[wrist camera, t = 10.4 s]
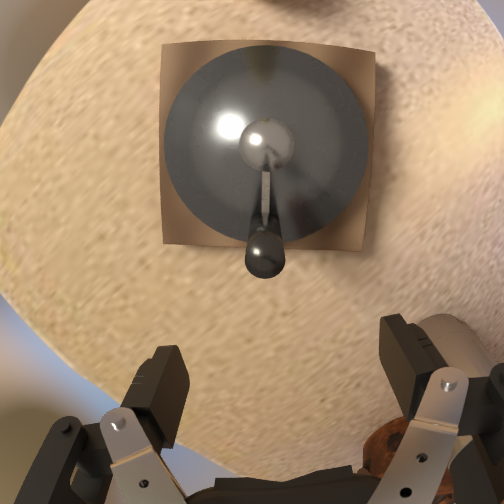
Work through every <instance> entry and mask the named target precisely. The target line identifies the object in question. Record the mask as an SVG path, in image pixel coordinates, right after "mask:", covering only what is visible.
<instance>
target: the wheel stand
mask: <svg viewBox="0 0 504 504" xmlns="http://www.w3.org/2000/svg"><path fill="white" fill-rule="evenodd" d="M258 45H273V46H282V47H287V48H292V49H296V50H298V51H301V52H304V53H307V54H309V55H311V56H313V57H315V58H317V59H318V60H320V61H322V62H323V63H325V64H326V65H327V66H329V67H330V68H332V69H333V70H334V71H335V72H336V73H337V74H338V75H339V76H340V77H341V78H342V79H343V80H344V81H345V82H346V84H347V85H348V86H349V87H350V89H351V90H352V92H353V94H354V95H355V97H356V98H357V100H358V102H359V105H360V107H361V109H362V111H363V115H364V118H365V121H366V125H367V132H368V150H369V151H368V159H367V165H366V169H365V173H364V176H363V179H362V181H361V184H360V186H359V188H358V190H357V192H356V194H355V195H354V197H353V199H352V200H351V202H350V203H349V204H348V206H347V207H346V208H345V209H344V210H343V211H342V212H341V213H340V214H339V215H338V216H337V218H335V219H334V220H333V221H332V222H330V223H329V224H328V225H326V226H325V227H323V228H322V229H320V230H318V231H317V232H315V233H313V234H311V235H308V236H306V237H304V238H301V239H297V240H294V241H291V242H285V243H283V247H284V248H288V249H314V250H339V251H362V244H363V237H364V230H365V222H366V214H367V205H368V196H369V187H370V176H371V164H372V151H373V136H374V115H375V52H371V51H365V50H359V49H353V48H347V47H340V46H332V45H324V44H315V43H304V42H291V41H273V40H214V41H196V42H183V43H172V44H163V45H162V52H161V72H160V104H159V162H160V195H161V216H162V233H163V244H177V245H206V246H234V247H247V242H244V241H239V240H236V239H233V238H230V237H227V236H225V235H223V234H221V233H219V232H217V231H215V230H213V229H212V228H210V227H209V226H207V225H206V224H204V223H203V222H202V221H201V220H199V219H198V218H197V217H196V216H195V215H194V214H193V213H192V212H191V211H190V210H189V209H188V208H187V207H186V205H185V204H184V203H183V201H182V200H181V198H180V197H179V196H178V194H177V192H176V190H175V188H174V186H173V184H172V182H171V179H170V176H169V174H168V171H167V166H166V162H165V155H164V132H165V126H166V121H167V118H168V115H169V111H170V108H171V106H172V104H173V102H174V100H175V98H176V96H177V94H178V93H179V91H180V90H181V88H182V87H183V85H184V84H185V83H186V82H187V81H188V79H189V78H190V77H191V76H192V75H193V74H194V73H195V72H196V71H198V70H199V69H200V68H201V67H202V66H203V65H205V64H206V63H208V62H210V61H211V60H213V59H214V58H216V57H218V56H220V55H222V54H225V53H227V52H230V51H233V50H236V49H239V48H244V47H249V46H258Z"/></svg>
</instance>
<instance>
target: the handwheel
mask: <svg viewBox="0 0 504 504" xmlns="http://www.w3.org/2000/svg"><path fill="white" fill-rule="evenodd" d="M368 151H369V150H368V132H367V125H366V121H365V118H364V115H363V111H362V109H361V107H360V105H359V102H358V100H357V98H356V97H355V95H354V94H353V92H352V90H351V89H350V87H349V86H348V85H347V84H346V82H345V81H344V80H343V79H342V78H341V77H340V76H339V75H338V74H337V73H336V72H335V71H334V70H333V69H332V68H330V67H329V66H327V65H326V64H325V63H323V62H322V61H320V60H318V59H317V58H315V57H313V56H311V55H309V54H307V53H304V52H301V51H298V50H296V49H292V48H287V47H282V46H273V45H258V46H249V47H244V48H239V49H236V50H233V51H230V52H227V53H225V54H222V55H220V56H218V57H216V58H214V59H213V60H211V61H210V62H208V63H206V64H205V65H203V66H202V67H201V68H200V69H199V70H198V71H196V72H195V73H194V74H193V75H192V76H191V77H190V78H189V79H188V81H187V82H186V83H185V84H184V85H183V87H182V88H181V90H180V91H179V93H178V94H177V96H176V98H175V100H174V102H173V104H172V106H171V108H170V111H169V115H168V118H167V121H166V126H165V132H164V155H165V162H166V166H167V171H168V174H169V176H170V179H171V182H172V184H173V186H174V188H175V190H176V192H177V194H178V196H179V197H180V198H181V200H182V201H183V203H184V204H185V205H186V207H187V208H188V209H189V210H190V211H191V212H192V213H193V214H194V215H195V216H196V217H197V218H198V219H199V220H201V221H202V222H203V223H204V224H206V225H207V226H209V227H210V228H212V229H213V230H215V231H217V232H219V233H221V234H223V235H225V236H227V237H230V238H233V239H236V240H239V241H244V242H247V248H246V254H245V265H246V267H247V269H248V271H249V272H250V273H251V274H252V275H254V276H256V277H258V278H263V279H268V278H272V277H275V276H276V275H278V274H279V273H280V272H281V271H282V270H283V268H284V265H285V253H284V247H283V243H285V242H291V241H294V240H297V239H301V238H304V237H306V236H308V235H311V234H313V233H315V232H317V231H318V230H320V229H322V228H323V227H325V226H326V225H328V224H329V223H330V222H332V221H333V220H334V219H335V218H337V216H338V215H339V214H340V213H341V212H342V211H343V210H344V209H345V208H346V207H347V206H348V204H349V203H350V202H351V200H352V199H353V197H354V195H355V194H356V192H357V190H358V188H359V186H360V184H361V181H362V179H363V176H364V173H365V169H366V165H367V159H368Z"/></svg>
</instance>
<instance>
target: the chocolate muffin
mask: <svg viewBox="0 0 504 504" xmlns="http://www.w3.org/2000/svg"><path fill="white" fill-rule="evenodd" d="M410 422H411V421H409V422H406V420H405V417H401V418H398V419H395V420H393V421H391V422H389V423H387V424H386V425H384V426H383V427H381V428H380V429H378V430H377V431H376V432H374V433H373V434H372V435H371V436H370V437H369V439H368V440H367V441H366V443H365V445H364V448H363V468H361V469H359V471H357V473H359V474H368V475H372V476H376V477H379V478H383V476H384V474H385V472H386V470H387V468H388V467H389V465H390V463H391V461H392V459H393V457H394V455H395V453H396V451H397V449H398V447H399V445H400V443H401V441H402V439H403V437H404V435H405V433H406V430H407V428H408V426H409V424H410ZM454 503H455V499H454V488H453V481H452V477H451V475H450V472H449V469H448V466H447V467H446V470H445V472H444V475H443V477H442V480H441V483H440V485H439V487H438V490H437V492H436V495H435V497H434V499H433V502H432V504H454Z"/></svg>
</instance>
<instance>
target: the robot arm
mask: <svg viewBox="0 0 504 504" xmlns="http://www.w3.org/2000/svg"><path fill="white" fill-rule="evenodd" d="M379 356H380V361H381V364H382V366H383V368H384V371H385V373H386V375H387V377H388V380H389V382H390V384H391V386H392V389H393V391H394V393H395V396H396V398H397V400H398V403H399V405H400V407H401V410H402V412H403V415H404V417H405V420H406V422H409V421H411V422H410V424H409V426H408V428H407V430H406V433H405V435H404V437H403V439H402V441H401V443H400V445H399V447H398V449H397V451H396V453H395V455H394V457H393V459H392V461H391V463H390V465H389V467H388V468H387V470H386V472H385V474H384V476H383V478H379V477H376V476H372V475H368V474H359V473H353V471H352V466H351V465H348V466H343V467H337V468H332V469H325V470H319V471H315V472H313V473H310V474H307V475H304V476H301V477H298V478H295V479H292V480H289V481H285V482H277V481H269V480H262V479H255V478H249V477H243V478H215V485H214V487H210V488H207V489H203V490H201V491H198V492H196V493H194V494H192V495H191V496H189V497H188V496H187V495H186V494H185V492H184V491H183V489H182V488H181V487H180V485H179V484H178V482H177V480H176V479H175V478H174V476H173V474H172V473H171V471H170V470H169V468H168V467H167V465H166V463H165V462H164V460H163V458H162V457H161V455H160V453H161V450H162V448H169V449H171V448H172V449H173V446H174V442H175V438H176V435H177V431H178V427H179V423H180V420H181V416H182V413H183V409H184V405H185V402H186V398H187V395H188V391H189V386H190V380H189V374H188V372H187V369H186V366H185V364H184V361H183V358H182V355H181V353H180V350H179V348H178V346H177V345H169V346H158V347H157V349H156V351H155V353H154V355H153V358H152V359H147V360H146V361H145V362H144V363H143V364H142V365H141V366H140V367H139V369H138V371H137V373H136V375H135V376H136V377H134V379H133V381H132V384H131V385H130V387H129V389H128V391H127V393H126V396H125V398H124V400H123V402H122V404H121V406H120V407H119V408H115V409H112V410H110V411H109V412H107V413H106V414H105V415H104V416H103V417H102V419H101V421H100V423H94V424H89V425H82V423H81V422H80V421H79V419H78V418H76V417H73V416H66V417H63V418H61V419H59V420H57V421H56V422H55V423H54V424H53V425H52V427H51V429H50V431H49V433H48V435H47V436H46V438H45V440H44V442H43V444H42V446H41V448H40V450H39V452H38V454H37V456H36V458H35V460H34V462H33V464H32V466H31V468H30V470H29V472H28V474H27V476H26V478H25V480H24V482H23V485H22V487H21V489H20V491H19V493H18V495H17V498H16V500H15V502H14V504H104V503H105V500H106V496H107V492H108V490H109V486H110V483H111V480H112V476H113V475H114V477H115V480H116V482H117V485H118V487H119V489H120V491H121V494H122V496H123V498H124V500H125V503H126V504H432V502H433V499H434V497H435V495H436V492H437V490H438V487H439V485H440V483H441V480H442V477H443V475H444V472H445V470H446V467H447V466H448V469H449V472H450V475H451V477H452V481H453V488H454V499H455V504H504V363H500V364H498V362H497V361H496V360H495V359H494V357H493V356H492V355H491V353H490V352H489V351H488V350H487V348H486V347H485V346H484V345H483V344H482V342H481V341H480V340H479V339H478V337H477V336H476V335H475V334H474V333H473V331H472V330H471V329H470V328H469V327H468V325H467V324H466V323H460V322H459V321H458V320H457V319H456V318H455V317H453V316H451V315H448V314H439V315H435V316H432V317H429V318H427V319H425V320H424V321H422V322H420V323H419V324H418V325H416V324H414V323H411V324H407V323H406V322H405V320H404V319H403V317H402V316H401V315H400V314H399V313H398V314H394V315H389V316H384V317H381V319H380V334H379ZM75 466H76V467H77V468H78V469H77V472H76V475H75V477H74V480H73V482H72V485H71V486H70V478H71V475H72V473H73V470H74V468H75Z"/></svg>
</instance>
